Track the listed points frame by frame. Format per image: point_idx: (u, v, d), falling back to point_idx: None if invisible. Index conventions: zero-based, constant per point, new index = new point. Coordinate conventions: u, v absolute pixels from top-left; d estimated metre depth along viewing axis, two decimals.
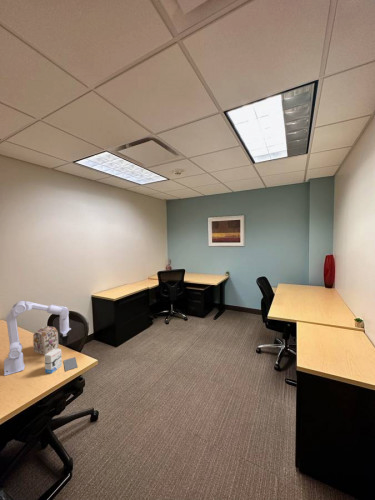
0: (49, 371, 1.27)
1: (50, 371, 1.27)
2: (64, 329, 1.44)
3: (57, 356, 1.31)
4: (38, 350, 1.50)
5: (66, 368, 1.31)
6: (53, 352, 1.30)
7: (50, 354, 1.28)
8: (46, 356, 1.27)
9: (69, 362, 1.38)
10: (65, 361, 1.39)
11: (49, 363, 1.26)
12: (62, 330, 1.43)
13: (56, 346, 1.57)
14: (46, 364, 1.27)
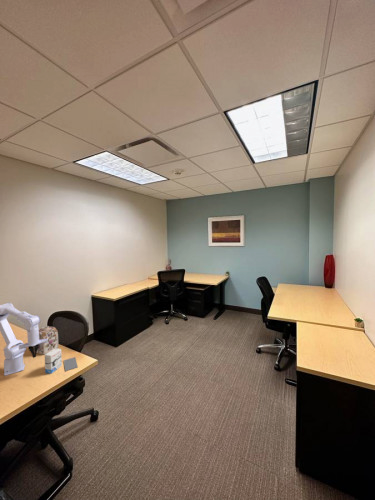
0: (49, 371, 1.27)
1: (50, 371, 1.27)
2: None
3: (57, 356, 1.31)
4: (38, 350, 1.50)
5: (66, 368, 1.31)
6: (53, 352, 1.30)
7: (50, 354, 1.28)
8: (46, 356, 1.27)
9: (69, 362, 1.38)
10: (65, 361, 1.39)
11: (49, 363, 1.26)
12: None
13: (56, 346, 1.57)
14: (46, 364, 1.27)
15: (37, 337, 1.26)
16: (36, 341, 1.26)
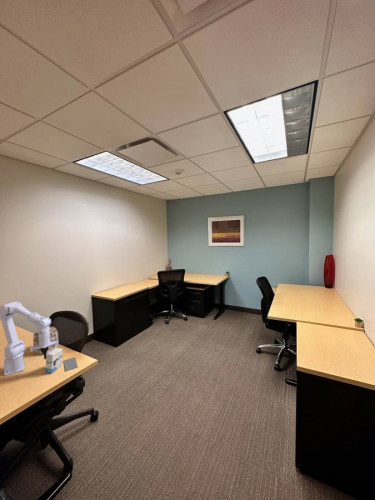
0: (49, 370, 1.27)
1: (51, 370, 1.27)
2: (39, 343, 1.26)
3: (58, 356, 1.31)
4: (38, 350, 1.50)
5: (66, 368, 1.31)
6: (55, 351, 1.30)
7: (52, 353, 1.28)
8: (48, 355, 1.27)
9: (69, 362, 1.38)
10: (65, 361, 1.39)
11: (50, 362, 1.27)
12: None
13: (56, 346, 1.57)
14: (47, 363, 1.27)
15: (48, 339, 1.27)
16: (47, 343, 1.26)
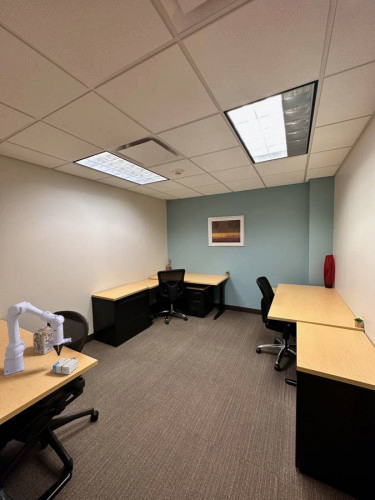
0: (54, 370, 1.27)
1: (54, 372, 1.27)
2: (53, 340, 1.30)
3: None
4: (38, 350, 1.50)
5: None
6: (73, 368, 1.28)
7: (70, 371, 1.26)
8: (67, 369, 1.25)
9: None
10: None
11: (61, 372, 1.26)
12: None
13: None
14: (60, 368, 1.26)
15: (61, 336, 1.31)
16: (61, 340, 1.31)
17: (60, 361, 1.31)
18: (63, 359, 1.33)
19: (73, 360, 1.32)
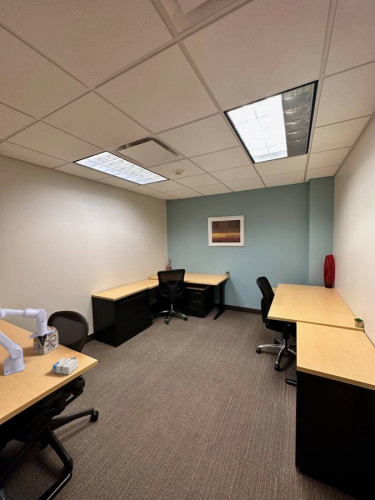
0: (54, 370, 1.27)
1: (54, 372, 1.27)
2: (37, 332, 1.39)
3: None
4: (38, 350, 1.50)
5: None
6: (73, 368, 1.28)
7: (70, 371, 1.26)
8: (67, 369, 1.25)
9: None
10: None
11: (61, 372, 1.26)
12: None
13: (56, 346, 1.57)
14: (60, 368, 1.26)
15: (45, 328, 1.40)
16: (44, 331, 1.40)
17: (60, 361, 1.31)
18: (63, 359, 1.33)
19: (73, 360, 1.32)
